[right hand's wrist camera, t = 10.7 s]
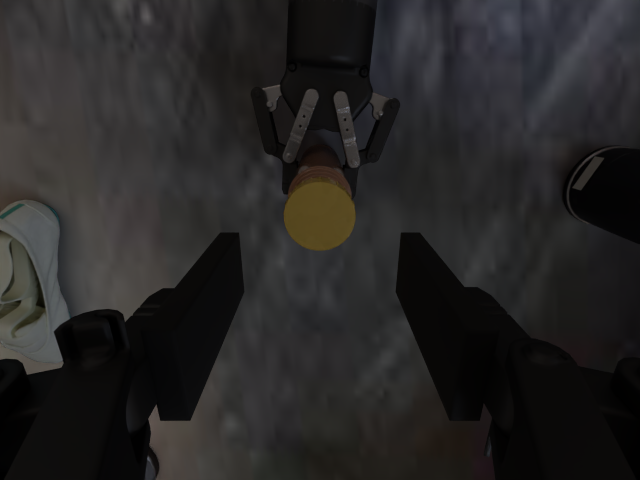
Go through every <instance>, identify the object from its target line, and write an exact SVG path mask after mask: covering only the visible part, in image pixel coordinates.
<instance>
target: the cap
mask: <svg viewBox="0 0 640 480" xmlns="http://www.w3.org/2000/svg"><path fill="white" fill-rule="evenodd" d="M285 205H286V206H285V210H284V213H283V214H284V222H285V226H286V229H287V231H288V233H289V235H290V236H291V237H292V239H293V240H294V241H296V242H297V243H298V244H299V245H301V246H303V247H305V248H308V249H311V250H319V251H322V250H328V249H332V248H335V247H336V246H338V245H340V244H341V243H343V242H344V241H345V240H346V239H347V238H348V237H349V235H350V234H351V232H352V230H353V227H354V224H355V216H356V212H355V208H354V206H355V205H354V202H353V201H352V199H351V195H350V193H348V192H347V190H346V189H345V187H344V186H342V185H341V184H339V183H338V181H334V180H332V179H330V178H323V177H321V176H320V177H317V178H312V177H311V178H310V179H308V180H305V181H304V180H303V181H302V183H300V184H299V185H297V186H295V188H294V190H293V191H292V192H290V194H289V198H288V200H286V203H285Z"/></svg>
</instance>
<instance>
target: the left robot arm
mask: <svg viewBox="0 0 640 480" xmlns="http://www.w3.org/2000/svg"><path fill="white" fill-rule="evenodd" d="M376 8H377V0H289V4H288V31H287V60H286V71H285V74H284V77H283V78H282V80H281V83H280V85H277V86H272V87H267V88H260V87H255V88H253V89H252V91H251V97H252V101H253V106H254V110H255V114H256V118H257V122H258V126H259V130H260V134H261V138H262V142H263V147H264V150H265V152H266V153H267V154H269V155H273V156H276V157H278V158H279V159H281V161H282V163H283V178H282V190H283V193H284V194H288V191H289V187H290V185H291V183H292V180H293V178H294V175H295V173H296V170H297V168H298V161H296V157H297V153H298V151H299V148H300V146H301V143H302V141H303V138H304V136H305V133H306V131H307V130H319V129H326V130H329V131H332V132H340V137H341V141H342V144H343V149H344V153H345V158H346V160H345V165H343V171H344V173H345V176H346V178H347V181H348V183H349V186H350V189H351V195H352V199H353V198H354V196H355V192H356V183H357V174H358V169H359V167H360V166H361V165H363V164H366V163H370V162H372V163H374V162H376V161H378V159H379V157H380V155H381V152H382V150H383V147H384V145H385V142H386V140H387V137H388V135H389V132H390V130H391V127H392V125H393V122H394V120H395V117H396V115H397V112H398V110H399V107H400V103H399V101H398V100H397V99H395V98H387V97H384V96H381V95H379V94H376V93H374V92H373V89H372V86H371V83H370V79H369V71H370V62H371V53H372V45H373V36H374V27H375V18H376ZM281 96H283V98H284V99H285V101H286V103H287V104H288V106H289V108H290V109H291V111H292V113H293V114H294V116H295V118H296V120H295V123H294V125H293V128H292V131H291V134H290V137H289V140H288V142H287V145H284V144H282V143H280V142H279V141H278V136H277V132H276V127H275V123H274V119H273V114H272V111H275V110H276V109H277V107H278V99H279V98H280V97H281ZM368 103H370V104H371V105H372V116H373V118H374V119H376V122H375V125H374V127H373V130H372V132H371V135H370V138H369V140H368V143H367V145H366V148H365V149H362V150H359V151H358V148H357V143H356V137H355V132H354V127H353V121H354V120H355V119H356V118H357V116H358V115H359V114H360V113H361V112H362V110H363V109H364V108H365V107H366V106H367V104H368ZM564 203H565V206H566V208H567V210H568V211H569V213H570V214H571V215H572V216H573V217H575V218H576V219H578V220H580V221H582V222H585V223H588V224H592V225H594V226H597V227H599V228H602V229H604V230H606V231H608V232H611V233H613V234H616V235H618V236H620V237H623V238H625V239H628V240H630V241H632V242H635V243H637V244H640V149H633V148H630V147H624V146H608V147H603V148H600V149H598V150H595V151H593V152H592V153H590V154H588V155H587V156H585V157H584V158H583V159H582V160H581V161H579V163H578V164H577V165H576V166H575V167H574V168H573V170H572V171H571V173H570V174H569V176H568V178H567V181H566V183H565V187H564Z"/></svg>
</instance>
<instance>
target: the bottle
mask: <svg viewBox="0 0 640 480" xmlns="http://www.w3.org/2000/svg"><path fill="white" fill-rule="evenodd" d="M320 176H321V177H323V178H330V179H332V180H334V181H338V183H339V184H341V185H342V186H344V187H345V189H346V190H347V192H348V193H350V195H351V189H350V186H349V183H348V181H347V178H346V176H345V173H344V171H343V168H342V165H341V163H340V160H339V158H338V155H337V154H336V152H335V151H334V150H333V149H332V148H331V147H329V146H327V145H323V144H317V145H313V146H311V147H309V148H308V149H307V150H306V151H305V152H304V154H303V155H302V158H301V160H300V163H299V165H298V168H297V170H296V173H295V175H294V178H293V180H292V183H291V185H290V187H289V191H288V198H289V194H290V192H292V191H293V190H294V188H295V186H297V185H299V184H300V183H302V181H303V180H304V181H305V180H308V179H310V178H311V177H312V178H317V177H320ZM351 199H352V195H351Z"/></svg>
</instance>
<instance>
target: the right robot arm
mask: <svg viewBox="0 0 640 480" xmlns="http://www.w3.org/2000/svg"><path fill="white" fill-rule="evenodd" d="M243 294H244V283H243V272H242V261H241V250H240V239H239V233H220V234H219V235H218V236H217V237H216V238H215V240H214V241H213V242H212V243H211V245H210V246H209V247H208V248H207V249H206V251H205V252H204V253H203V254H202V256H201V257H200V258H199V259H198V260H197V262H196V263H195V264H194V265H193V266H192V268H191V269H190V270H189V271H188V273H187V274H186V275H185V276H184V277H183V279H182V280H181V281H180V282H179V284H178V285H177V286H176V287H175V288H163V289H161V290H159V291H157V292H156V293H154V294H152V295H151V296H149V297H148V298H147V299H146V300H145V301H144V302H143V304H142V305H141V306H140V308H138V309H137V310H136V311H135V312H134V313H133V316H131V317H130V318H129V319H128V320H127V321H126V322H125V321H124V316H123V314H122V313H121V312H119V311H118V310H111V309H102V310H94V311H90V312H86V313H83V314H80V315H78V316H75V317H73V318H70V319H69V320H67V321H65V322H64V323H62V324H60V325H59V326H58V327H57V328H56V330H55V331H54V335H55V338H56V341H57V344H58V347H59V350H60V353H61V356H62V359H63V362H64V364H63V366H62V368H58V369H53V370H49V371H44V372H39V373H34V374H29V375H27V374H26V371H25V369H24V366H23V363H21V362H20V361H18V360H17V359H2V360H0V480H156V478H157V475H158V472H159V463H158V459H157V457H156V455H155V454H154V452H153V451H152V450H151V448H150V447H149V443H150V436H151V431H150V424H149V420H148V418H149V416H150V414H151V413H152V411H153V409H154V407H155V406H156V404H157V408H158V412H159V417H160V421H190V420H191V418H192V415H193V413H194V410H195V408H196V406H197V403H198V401H199V399H200V396H201V394H202V391H203V389H204V387H205V384H206V382H207V379H208V377H209V375H210V372H211V370H212V368H213V365H214V363H215V360H216V358H217V356H218V353H219V351H220V348H221V346H222V344H223V341H224V339H225V337H226V334H227V332H228V329H229V327H230V325H231V322H232V320H233V317H234V315H235V313H236V310H237V308H238V306H239V303H240V301H241V298H242V296H243ZM396 294H397V296H398V298H399V301H400V303H401V306H402V308H403V310H404V313H405V315H406V317H407V320H408V322H409V325H410V327H411V329H412V332H413V334H414V337H415V339H416V341H417V344H418V346H419V348H420V351H421V353H422V356H423V358H424V360H425V363H426V365H427V368H428V370H429V372H430V375H431V377H432V379H433V382H434V384H435V387H436V389H437V391H438V394H439V396H440V399H441V401H442V403H443V406H444V408H445V410H446V413H447V415H448V418H449V420H450V421H480V417H481V412H482V408H483V403H484V404H485V406H486V407H487V409H488V411H489V413H490V414H491V416H492V420H491V424H490V429H489V433H488V437H487V441H486V445H485V450H484V456H487V457H489V454H490V450H492V458H493V465H494V473H495V480H640V358H636V357H630V358H623V359H621V360H620V361H618V363H617V366H616V369H615V371H614V373H609V372H604V371H599V370H594V369H589V368H585V367H580V366H578V365H577V363H576V362H575V360H574V359H573V358H572V357H571V356H570V355H569V354H568V353H567V352H565V351H564V350H562V349H561V348H559V347H557V346H555V345H553V344H551V343H549V342H545V341H542V340H538V339H533V338H530V336H529V335H528V334H527V333H526V332H525V331H524V330H523V329H522V328H521V327H520V326H519V325H518V324H517V323H516V321H515V320H514V319H513V318H512V317H511V316H510V315H507V312H506V311H505V310H504V309H503V307H500V304H499V303H498V302H497V301H496V300H495V299H494V298H493V297H492V296H491V295H490V294H488V293H486V292H485V291H483V290H481V289H480V288H478V287H464V286H463V285H462V284H461V282H460V281H459V280H458V279H457V277H456V276H455V275H454V274H453V273H452V271H451V270H450V269H449V268H448V266H447V265H446V264H445V263H444V262H443V260H442V259H441V258H440V257H439V256H438V254H437V253H436V252H435V251H434V249H433V248H432V247H431V246H430V245H429V243H428V242H427V241H426V240H425V238H424V237H423V236H422V235H421V234H420V233H401V239H400V250H399V261H398V272H397V283H396Z"/></svg>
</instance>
